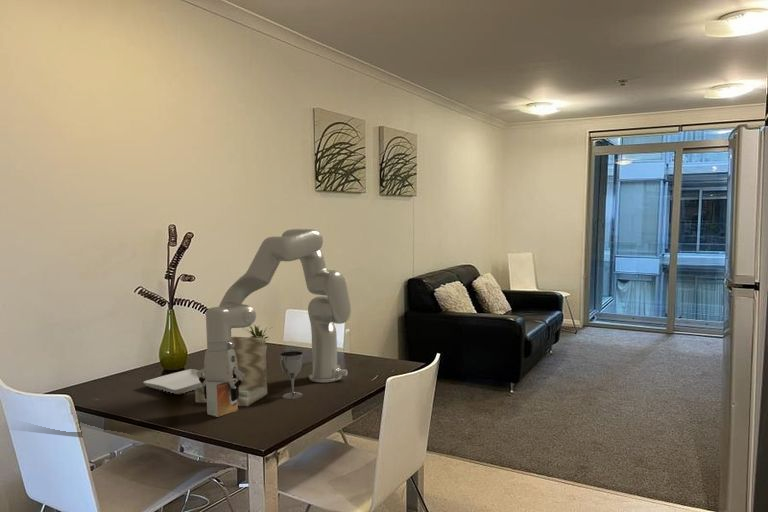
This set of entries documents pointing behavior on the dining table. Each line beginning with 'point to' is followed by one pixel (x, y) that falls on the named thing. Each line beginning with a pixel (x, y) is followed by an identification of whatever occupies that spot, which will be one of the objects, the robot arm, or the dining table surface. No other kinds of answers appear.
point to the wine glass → (291, 369)
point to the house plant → (257, 334)
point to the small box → (219, 399)
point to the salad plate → (176, 382)
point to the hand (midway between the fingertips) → (221, 398)
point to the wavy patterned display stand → (247, 370)
